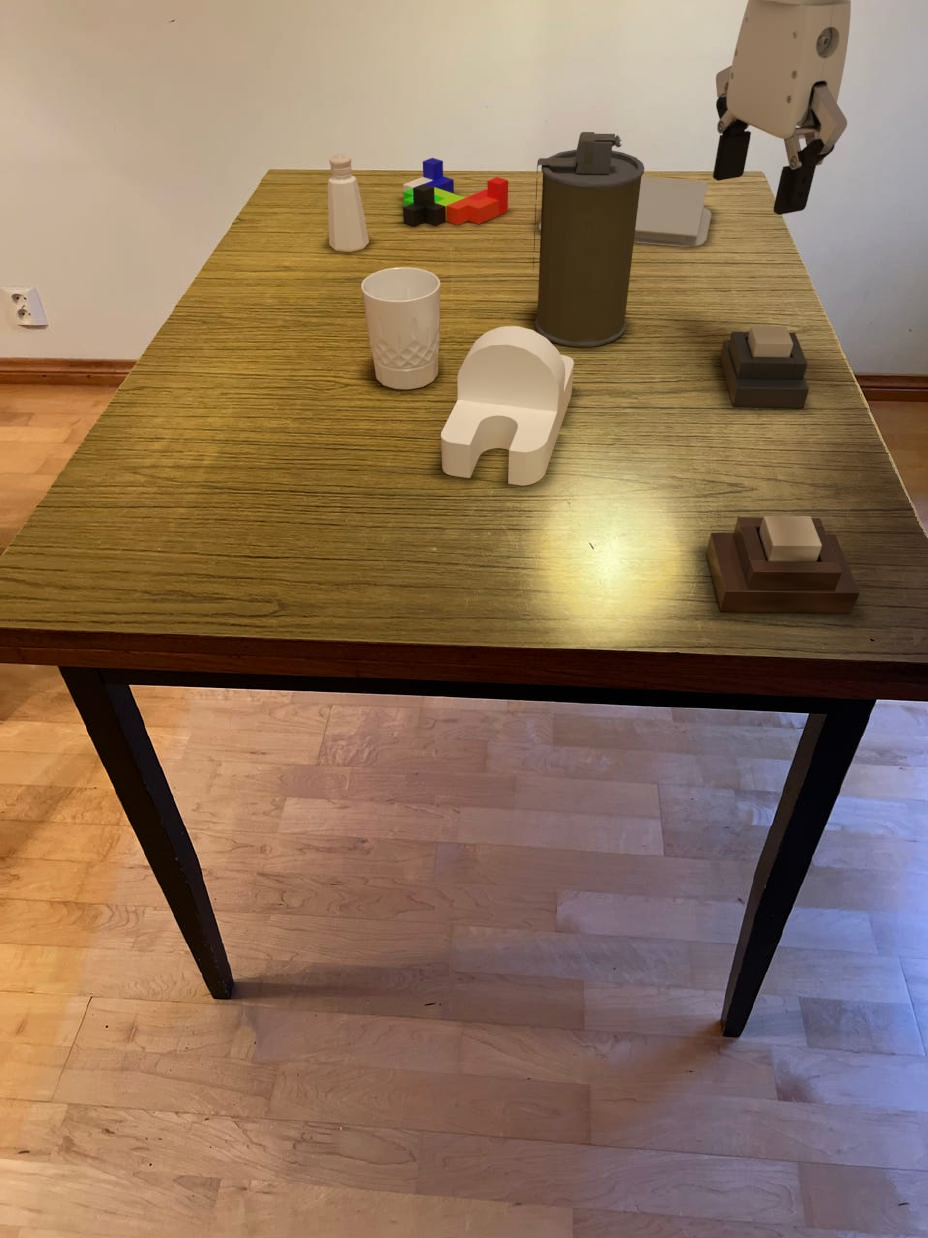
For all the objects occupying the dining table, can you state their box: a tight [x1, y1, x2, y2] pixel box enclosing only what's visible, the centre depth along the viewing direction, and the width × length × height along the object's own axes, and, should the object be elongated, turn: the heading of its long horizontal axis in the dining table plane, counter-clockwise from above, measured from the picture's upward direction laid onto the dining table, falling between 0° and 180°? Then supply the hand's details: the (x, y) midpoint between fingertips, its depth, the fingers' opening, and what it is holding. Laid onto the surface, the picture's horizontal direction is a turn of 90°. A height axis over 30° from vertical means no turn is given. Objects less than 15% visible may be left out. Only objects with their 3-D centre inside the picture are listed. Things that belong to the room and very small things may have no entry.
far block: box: [719, 331, 810, 409], centre depth 91 cm, size 10×7×4 cm
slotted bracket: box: [440, 325, 575, 487], centre depth 83 cm, size 18×10×10 cm, turn 165°
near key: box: [759, 515, 822, 562], centre depth 67 cm, size 4×4×2 cm
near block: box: [706, 516, 860, 614], centre depth 69 cm, size 10×7×4 cm
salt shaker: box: [327, 154, 370, 253], centre depth 116 cm, size 5×5×11 cm
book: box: [538, 176, 712, 248], centre depth 123 cm, size 15×23×4 cm, turn 74°
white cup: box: [360, 266, 441, 390], centre depth 91 cm, size 8×8×10 cm
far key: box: [747, 325, 793, 357], centre depth 89 cm, size 4×4×2 cm
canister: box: [532, 131, 645, 348], centre depth 95 cm, size 11×10×20 cm
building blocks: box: [402, 157, 509, 227], centre depth 126 cm, size 15×13×4 cm
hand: (757, 193), depth 84 cm, fingers open, 9 cm apart
